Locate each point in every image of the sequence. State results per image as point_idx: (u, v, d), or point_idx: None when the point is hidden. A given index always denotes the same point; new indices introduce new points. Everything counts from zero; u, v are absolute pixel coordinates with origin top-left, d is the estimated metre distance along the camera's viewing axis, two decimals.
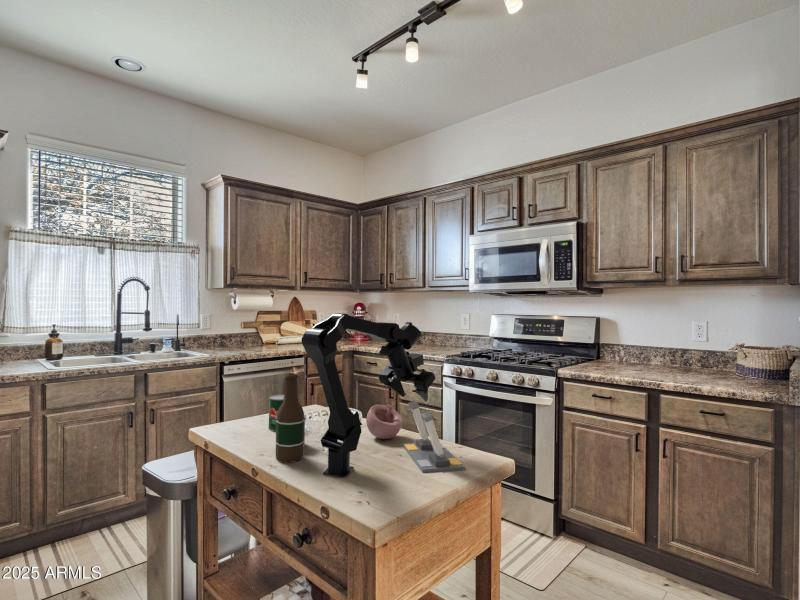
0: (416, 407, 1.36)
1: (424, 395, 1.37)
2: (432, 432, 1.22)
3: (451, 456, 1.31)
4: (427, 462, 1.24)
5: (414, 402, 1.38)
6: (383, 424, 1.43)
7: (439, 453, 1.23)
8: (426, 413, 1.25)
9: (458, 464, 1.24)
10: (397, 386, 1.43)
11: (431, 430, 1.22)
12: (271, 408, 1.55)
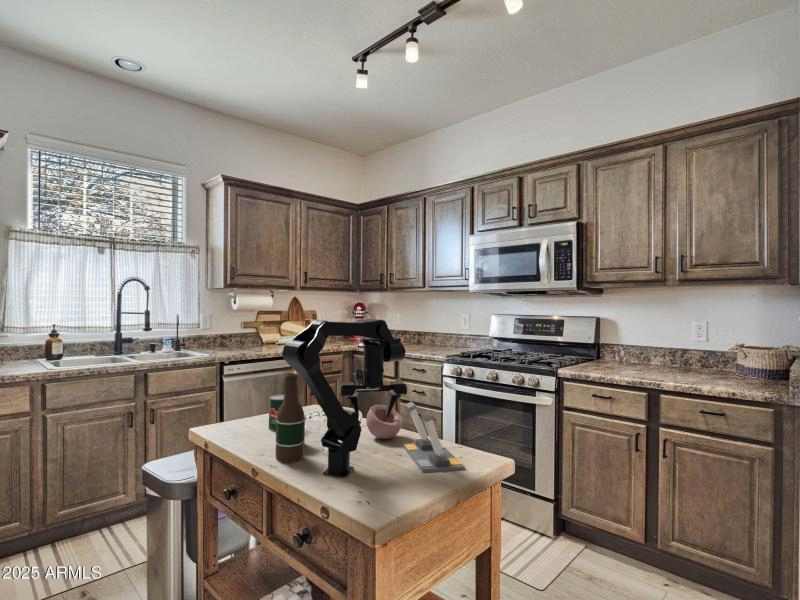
0: (413, 408, 1.36)
1: None
2: (432, 432, 1.22)
3: (451, 456, 1.31)
4: (427, 462, 1.24)
5: (411, 403, 1.38)
6: (383, 424, 1.43)
7: (439, 453, 1.23)
8: (426, 413, 1.25)
9: (458, 464, 1.24)
10: None
11: (431, 430, 1.22)
12: (271, 408, 1.55)
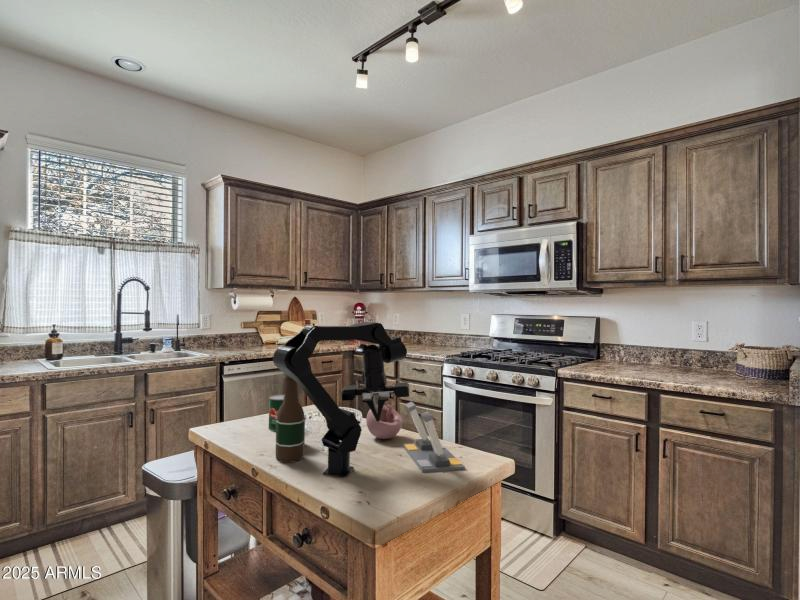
0: (413, 408, 1.36)
1: (381, 411, 1.26)
2: (432, 432, 1.22)
3: (451, 456, 1.31)
4: (427, 462, 1.24)
5: (411, 403, 1.38)
6: (383, 424, 1.43)
7: (439, 453, 1.23)
8: (426, 413, 1.25)
9: (458, 464, 1.24)
10: (375, 406, 1.26)
11: (431, 430, 1.22)
12: (271, 408, 1.55)
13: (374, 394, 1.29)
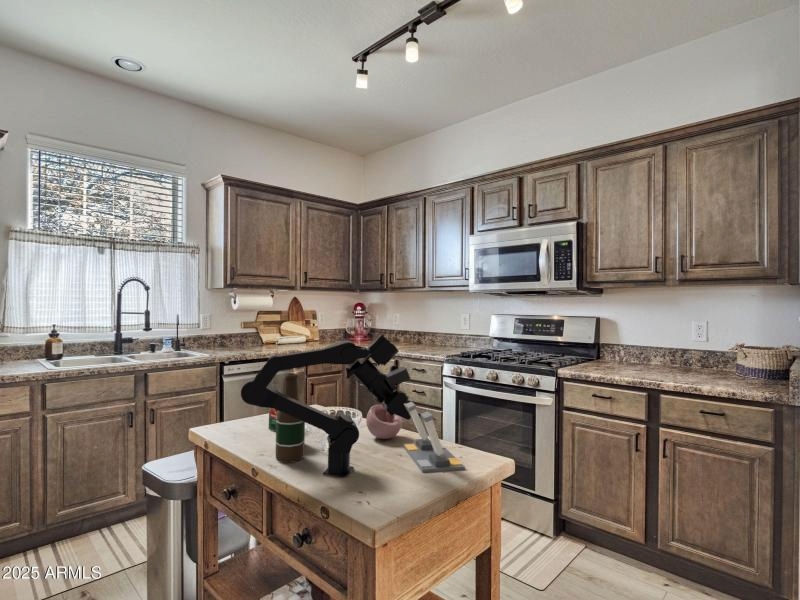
0: (413, 408, 1.36)
1: (400, 414, 1.21)
2: (432, 432, 1.22)
3: (451, 456, 1.31)
4: (427, 462, 1.24)
5: (411, 403, 1.38)
6: (383, 424, 1.43)
7: (439, 453, 1.23)
8: (426, 413, 1.25)
9: (458, 464, 1.24)
10: None
11: (431, 430, 1.22)
12: (271, 408, 1.55)
13: None
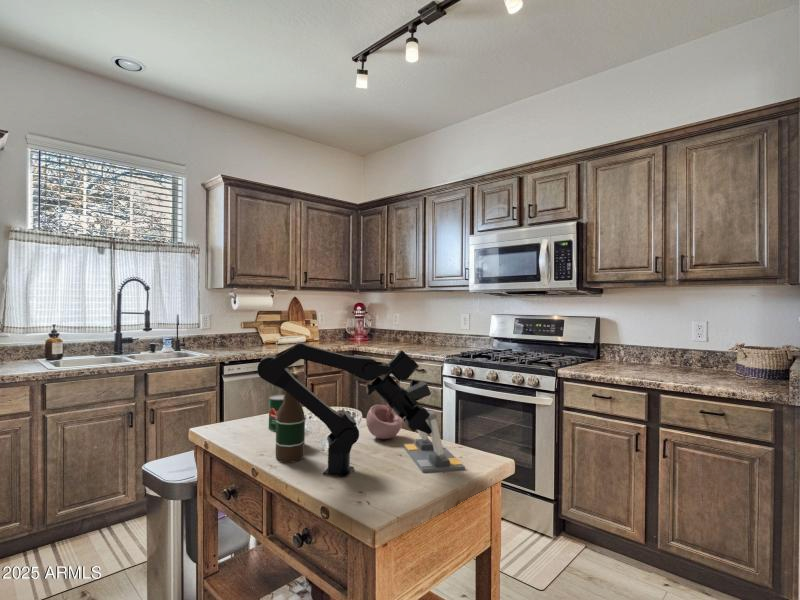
0: None
1: (421, 428, 1.22)
2: (434, 431, 1.23)
3: (451, 456, 1.31)
4: (427, 462, 1.24)
5: None
6: (383, 424, 1.43)
7: (439, 453, 1.23)
8: (430, 411, 1.26)
9: (458, 464, 1.24)
10: None
11: (434, 429, 1.23)
12: (271, 408, 1.55)
13: None
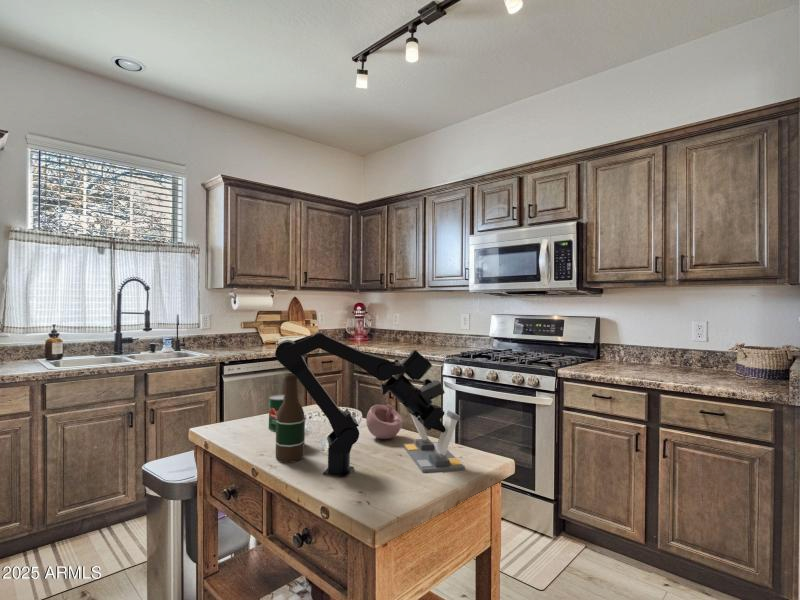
0: None
1: (436, 427, 1.23)
2: (449, 430, 1.24)
3: (451, 456, 1.31)
4: (427, 462, 1.24)
5: None
6: (383, 424, 1.43)
7: (442, 452, 1.23)
8: (453, 413, 1.27)
9: (458, 464, 1.24)
10: None
11: (450, 428, 1.24)
12: (271, 408, 1.55)
13: None
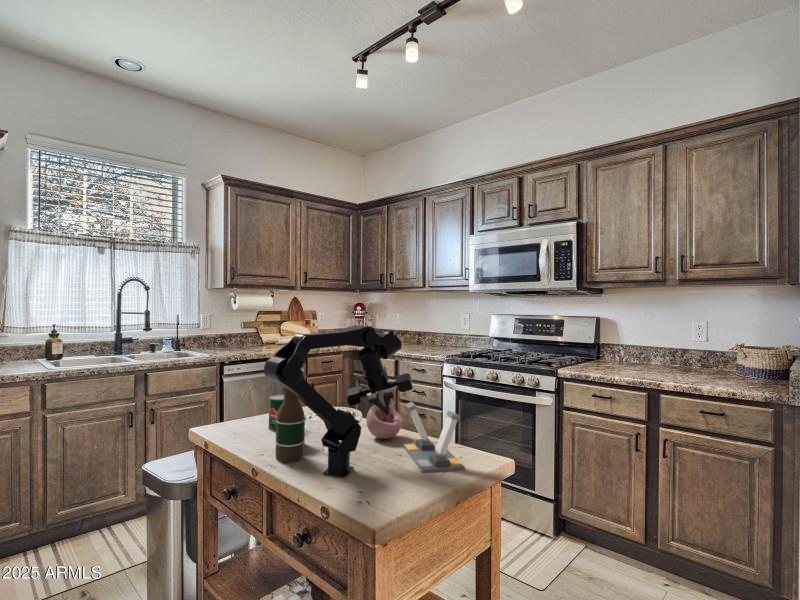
0: (413, 408, 1.36)
1: None
2: (449, 430, 1.24)
3: (451, 456, 1.31)
4: (427, 462, 1.24)
5: (411, 403, 1.38)
6: (383, 424, 1.43)
7: (442, 452, 1.23)
8: (453, 413, 1.27)
9: (458, 464, 1.24)
10: (382, 402, 1.29)
11: (450, 428, 1.24)
12: (271, 408, 1.55)
13: None
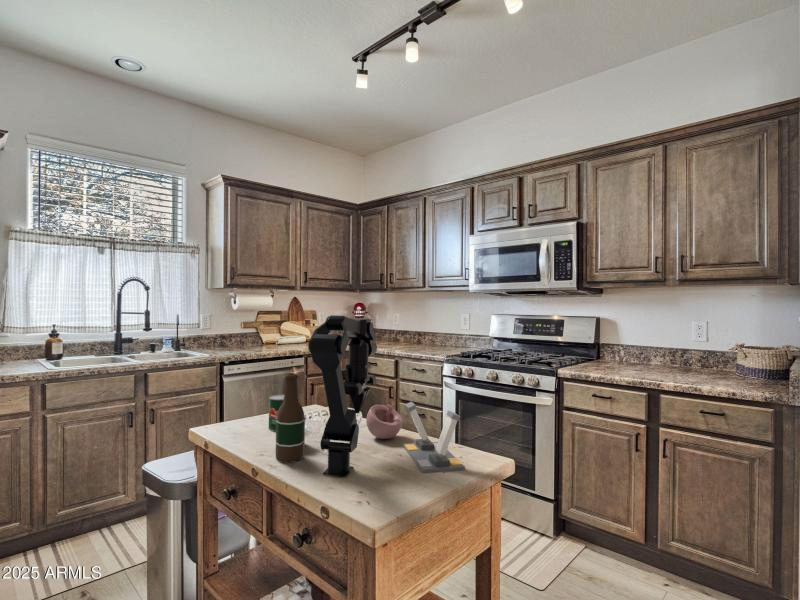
0: (413, 408, 1.36)
1: None
2: (449, 430, 1.24)
3: (451, 456, 1.31)
4: (427, 462, 1.24)
5: (411, 403, 1.38)
6: (383, 424, 1.43)
7: (442, 452, 1.23)
8: (453, 413, 1.27)
9: (458, 464, 1.24)
10: None
11: (450, 428, 1.24)
12: (271, 408, 1.55)
13: None
